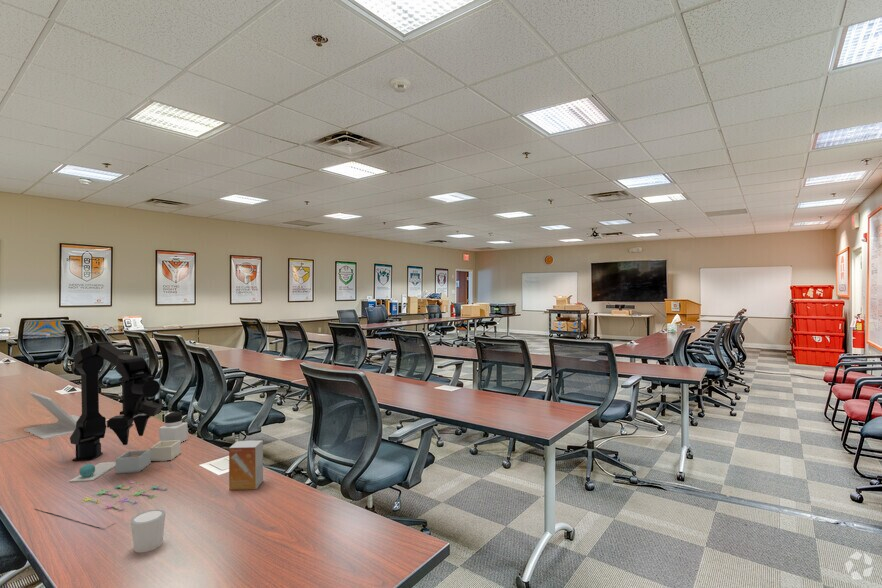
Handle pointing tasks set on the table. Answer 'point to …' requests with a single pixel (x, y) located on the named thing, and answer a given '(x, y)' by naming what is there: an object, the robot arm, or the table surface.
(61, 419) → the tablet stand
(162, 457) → the open cream box
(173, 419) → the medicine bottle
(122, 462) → the grey open box
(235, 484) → the small box
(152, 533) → the white oval container
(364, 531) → the table surface
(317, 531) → the table surface
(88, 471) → the teal ball
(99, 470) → the mat
